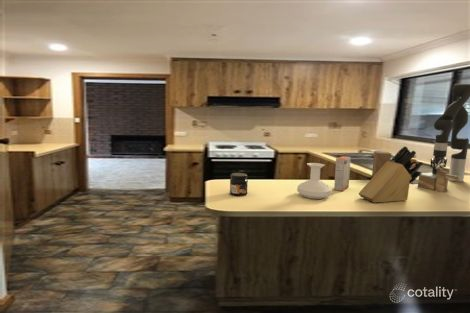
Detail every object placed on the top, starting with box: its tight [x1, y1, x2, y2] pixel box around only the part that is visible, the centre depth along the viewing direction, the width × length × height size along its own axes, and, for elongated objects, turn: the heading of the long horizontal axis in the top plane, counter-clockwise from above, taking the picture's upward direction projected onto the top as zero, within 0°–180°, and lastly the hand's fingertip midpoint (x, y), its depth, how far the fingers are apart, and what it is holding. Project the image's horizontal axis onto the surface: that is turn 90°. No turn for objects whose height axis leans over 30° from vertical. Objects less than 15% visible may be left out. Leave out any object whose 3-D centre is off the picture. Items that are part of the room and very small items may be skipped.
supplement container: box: [229, 172, 248, 197], centre depth 183 cm, size 10×10×12 cm
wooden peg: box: [441, 171, 460, 180], centre depth 199 cm, size 3×12×3 cm, turn 23°
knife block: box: [358, 145, 424, 204], centre depth 179 cm, size 11×35×31 cm, turn 107°
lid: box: [421, 167, 444, 179], centre depth 211 cm, size 15×11×7 cm
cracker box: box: [333, 155, 352, 192], centre depth 201 cm, size 14×6×21 cm, turn 145°
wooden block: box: [371, 150, 392, 178], centre depth 239 cm, size 10×10×20 cm
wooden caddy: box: [417, 171, 449, 193], centre depth 210 cm, size 14×16×12 cm
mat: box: [410, 178, 419, 185], centre depth 231 cm, size 16×13×1 cm
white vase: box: [296, 162, 333, 200], centre depth 182 cm, size 20×20×19 cm
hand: (437, 173), depth 213 cm, fingers open, 6 cm apart
